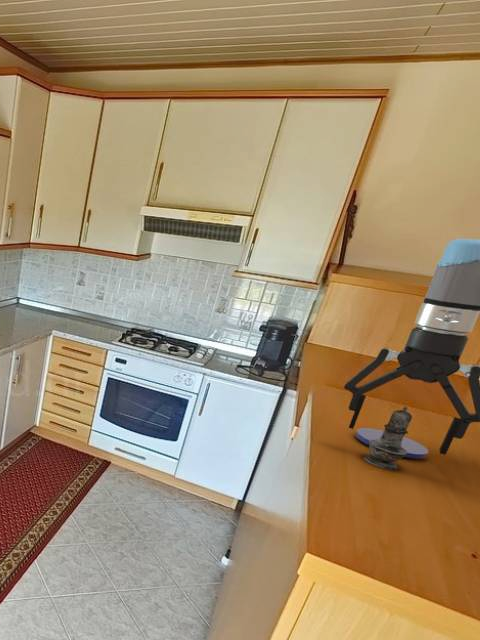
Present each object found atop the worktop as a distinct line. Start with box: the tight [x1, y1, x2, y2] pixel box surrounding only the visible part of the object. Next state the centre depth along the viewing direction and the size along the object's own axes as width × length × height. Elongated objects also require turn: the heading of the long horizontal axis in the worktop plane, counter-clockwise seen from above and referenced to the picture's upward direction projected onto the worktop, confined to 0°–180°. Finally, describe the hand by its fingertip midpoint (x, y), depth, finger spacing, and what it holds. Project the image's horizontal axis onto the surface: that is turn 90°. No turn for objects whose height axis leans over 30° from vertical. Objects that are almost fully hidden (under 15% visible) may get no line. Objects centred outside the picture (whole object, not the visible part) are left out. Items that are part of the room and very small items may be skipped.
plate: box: [355, 427, 430, 460], centre depth 103 cm, size 12×12×2 cm
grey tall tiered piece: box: [363, 406, 413, 471], centre depth 93 cm, size 6×6×12 cm
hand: (394, 439), depth 93 cm, fingers open, 13 cm apart
